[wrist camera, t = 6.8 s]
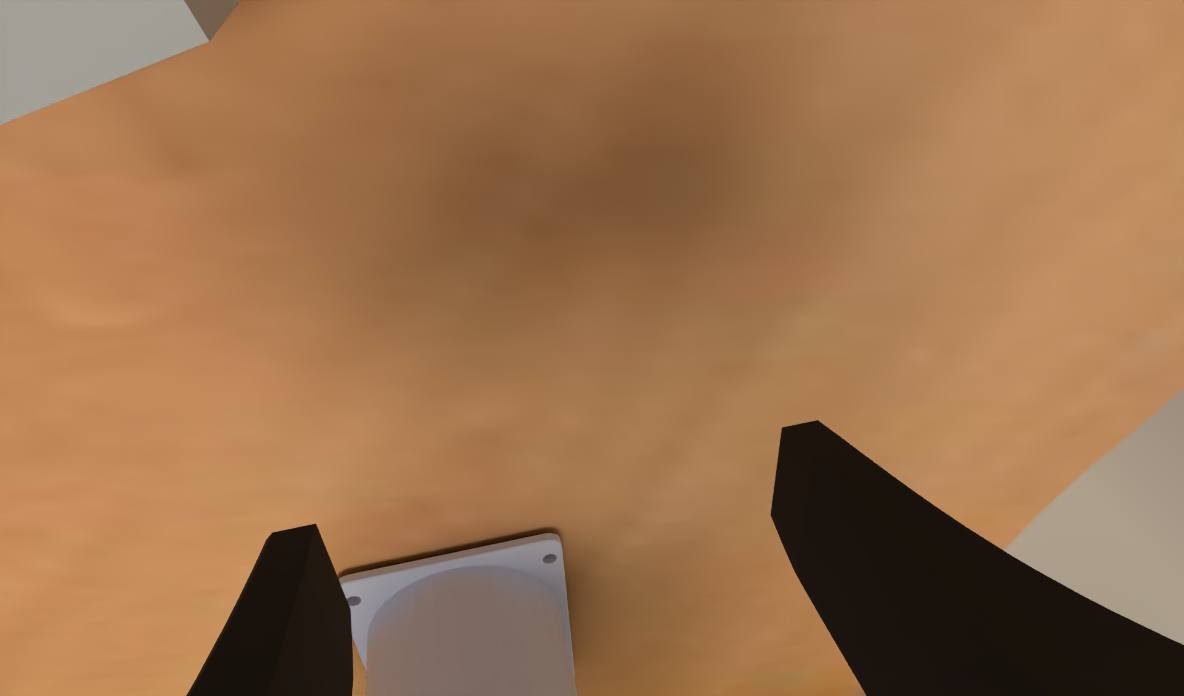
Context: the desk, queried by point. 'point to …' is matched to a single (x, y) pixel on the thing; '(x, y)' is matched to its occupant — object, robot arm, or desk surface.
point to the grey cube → (91, 43)
